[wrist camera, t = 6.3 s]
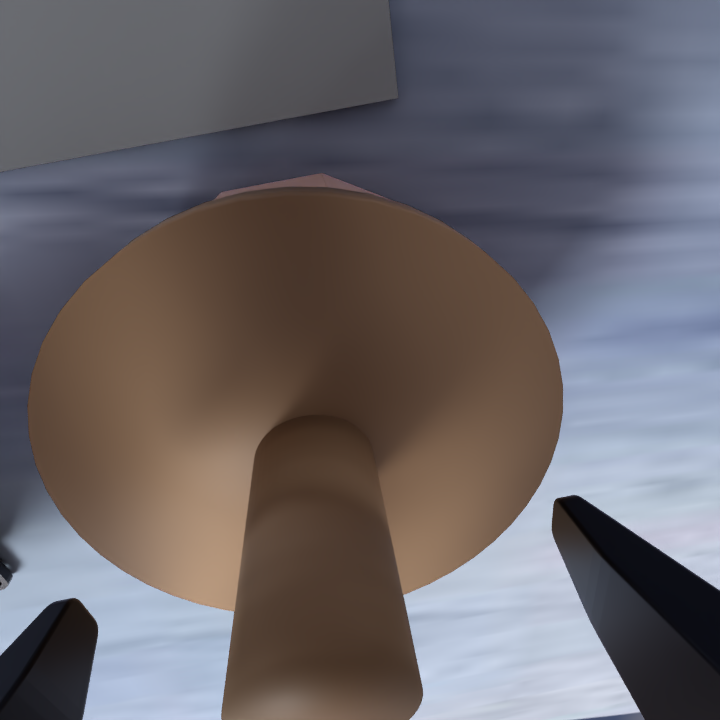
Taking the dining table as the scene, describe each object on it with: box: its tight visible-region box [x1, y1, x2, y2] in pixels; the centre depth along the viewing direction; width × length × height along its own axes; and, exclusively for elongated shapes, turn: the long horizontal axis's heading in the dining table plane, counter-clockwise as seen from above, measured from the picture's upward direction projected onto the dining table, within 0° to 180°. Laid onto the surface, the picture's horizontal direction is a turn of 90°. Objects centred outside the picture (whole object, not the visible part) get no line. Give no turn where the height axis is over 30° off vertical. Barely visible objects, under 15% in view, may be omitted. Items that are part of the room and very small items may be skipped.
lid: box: [27, 186, 563, 720], centre depth 9 cm, size 12×12×6 cm
